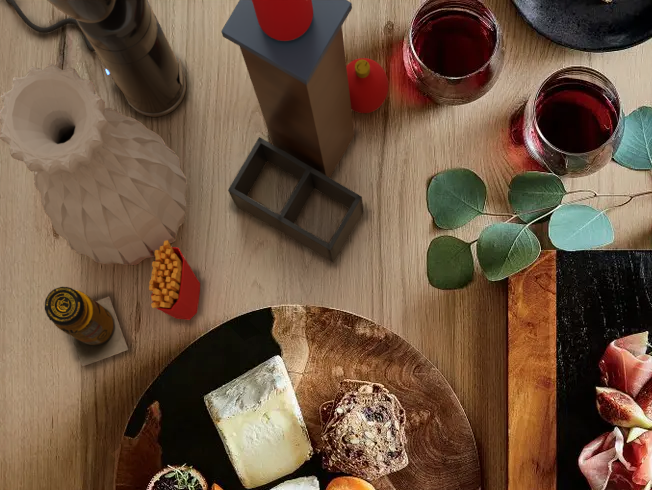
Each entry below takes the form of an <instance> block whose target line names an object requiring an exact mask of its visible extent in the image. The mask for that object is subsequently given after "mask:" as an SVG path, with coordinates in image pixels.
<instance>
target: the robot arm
mask: <svg viewBox="0 0 652 490" xmlns="http://www.w3.org/2000/svg"><path fill="white" fill-rule="evenodd" d="M5 1H6V3H8V4H10V5H11V6H12V7H13V9H14V10H15V12H16V13H17V15H18V16H19V17H20V19H21V20H22V21H23V22H24V23H25V24H26V25H27V26H28V27H29V28H30V29H32V30H33V31H35V32H37V33H41V34H49V33H52V32H54V31H57V30H59V29H61V28H62V27H64V26H66V25H70V24H71V25H75V26H76V27H78V28H79V29H80V31H81V34H82V36H83V39H84V42H85V45H86V46H87V48H88V49H89V51H91V52H95V54H96V56H97V58H98V59H99V60H100V62H101V64H102V65H103V67H104V68H105V72H106V75H107V76H110V77H111V78H112V80H113V82H114V83H115V85H116V86H117V88H118V89H119V90H120V91H121V92H122V94H123V96H124V98H125V100H126V101H127V104H128V105H130V107H131V108H132V109H133V110H134V111H135V112H137V113H138V114H140V115H142V116H146V117H153V118H159V117H163V116H166V115H168V114H171V113H172V112H173V111H174V110H176V109H177V108H178V107H179V106H180V104H181V103H182V102H183V100H184V97H185V95H186V92H187V78H186V75H185V72H184V70H183V62H182V61H181V58H178V59H177V57H176V54H175V53H174V51H173V48H172V46H171V45H170V43H169V41H168V38H167V37H166V34H165V33H164V30H163V29H162V27H161V25H160V21H159V20H158V18H157V16H156V14H155V12H154V10H153V7H152V6H151V4H150V1H149V0H47V2H49V4H51V5H52V6H53V7H55V8H56V9H57V10H58V11H60V12H62V13H63V14H64V15H66V16H68V18H64V19H61V20H59V21H58V22H56V23H54V24H52V25H50V26H47V27H41V26H38V25H36V24H35V23H33V22H32V21H31V20H30V19H29V18H28V17H27V16H26V14H25V13H24V12H23V10H22V9H21V8H20V7H19V5H18V4H17V2H16V0H5Z"/></svg>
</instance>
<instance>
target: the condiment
mask: <svg viewBox="0 0 652 490" xmlns="http://www.w3.org/2000/svg"><path fill="white" fill-rule="evenodd" d="M44 311H45V314H46V316H47V318H48V320H49V321H51V322H52V323H53V325H54V326H55V327H56V328H57V329H58V330H60V331H62V332H63V333H65V334H67V335H69V336H71V339H72V341H73V344H74V348H75V350H76V353H77V355H78V359H79V362H80V365H81V367H85V366H88V365H91V364H94V363H96V362H99V361H102V360H105V359H107V358H111V357H112V356H116V355H118V354H121V353H123V352H126V351H128V350H129V348H128V345H127V342H126V339H125V337H124V333H123V331H122V329H121V324H120V322H119V320H118V316H117V314H116V311H115V307H114V305H113V303H112V300H111V298H110V296H107V297H104V298H101V299H98V300H95V299H93V298H92V297H90V296H88V294H86V293H84V292H82V291H81V290H78V289H74V288H72V287H69V286H59V287H56V288H54V289H52V290H51V291H50V292H49V293H48V295H47V296H46V298H45V300H44Z"/></svg>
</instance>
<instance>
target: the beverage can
mask: <svg viewBox="0 0 652 490" xmlns="http://www.w3.org/2000/svg"><path fill="white" fill-rule="evenodd" d="M252 2H253V6H254V9H255V13H256V16H257V19H258V23H259V25H260V27H261V29H262V30H263V31H264V32H265V33H266V34H267V35H268V36H270V37H271V38H273V39H276V40H280V41H289V40H294V39H296V38H298V37H300V36H301V35H303V34H304V33H305V32H306V31H307V29H308V28H309V26H310V24H311V22H312V18H313V6H312V0H252Z"/></svg>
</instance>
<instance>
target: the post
mask: <svg viewBox="0 0 652 490" xmlns="http://www.w3.org/2000/svg"><path fill="white" fill-rule="evenodd" d="M239 50H240V52H241V55H242V58H243V61H244V64H245V67H246V70H247V73H248V75H249V79H250V81H251V84H252V88H253V91H254V93H255V96H256V99H257V102H258V105H259V107H260V110H261V114H262V117H263V119H264V122H265V126H266V128H267V131H268V134H269V137H270V141H271V144H272V145H274V146H276V147H278V148H279V149H281V150H283V151H285V152H286V153H288V154H290V155H291V156H293V157H295V158H297V159H298V160H300V161H302V162H303V163H305V164H307V165H309V166H310V167H312V168H314V169H315V170H317V171H319V172H321V173H322V174H324V175H326V176H328V177H329V178H332V175H333V174H334V172H335V170H336V168H337V166H338V165H339V163H340V162H341V159H342V158H343V156H344V154H345V153H346V151H347V149H348V147H349V146H350V145H351V143H352V141H353V139H354V138H355V128H354V120H353V113H352V111H353V110H352V109H351V102H350V93H349V85H348V76H347V68H346V66H347V59H346V51H345V43H344V34H343V25H342V26H341V28H340V30H339V32H338V33H337V35H336V37H335V38H334V40H333V42H332V43H331V45H330V47H329V49H328V50H327V52H326V54H325V55H324V57H323V59H322V61H321V62H320V64H319V66H318V67H317V69H316V71H315V72H314V74H313V76H312V78H311V79H310V81H309V83H308V84H307V85H306V84H304V83H302V82H301V81H299V80H297V79H295V78H294V77H292V76H290V75H289V74H287V73H285V72H283V71H282V70H280V69H278V68H276V67H275V66H273V65H271V64H270V63H268V62H266V61H264V60H263V59H261V58H259V57H257V56H256V55H254V54H252V53H251V52H249V51H247V50H245V49H244V48H242V47H240V46H239Z"/></svg>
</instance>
